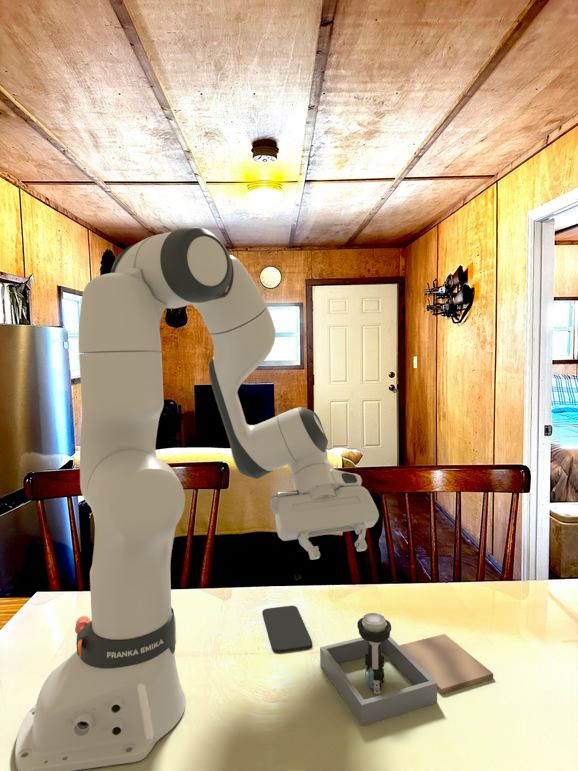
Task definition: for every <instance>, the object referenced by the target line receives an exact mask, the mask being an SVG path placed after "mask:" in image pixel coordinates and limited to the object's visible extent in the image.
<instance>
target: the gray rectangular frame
mask: <svg viewBox="0 0 578 771" xmlns="http://www.w3.org/2000/svg"><path fill="white" fill-rule="evenodd" d="M380 644H381V653H385V655H386V656H387V657H388V658H389V659H390V660H391V661H392V662H393V663H394V664H395V666H397V667H398V668H399V670H400V671H401V672H402V673H403V674H404V675H405V676H406V677H407V678H408V679H409V680H410V682H411V683H413V685H411V686H408V687H404V688H400V689H398V690H394V691H390V692H387V693H384V694H380V695H379V694H378V695H375V696H373V697H370V698H367V699H364V698H363V696H362V695H361V694H360V692H359V691H358V689H357V688H356V687H355V686H354V684H353V683H352V681H351V680H350V679H349V677H348V676H347V675H346V673H345V672H344V671H343V669H342V668H341V667H340V665H339V664H341V663H345V662H349V661H352V660H357V659H361V658H365V655H366V654H368V641H366V640H364V639H362V637H361V636H360V637H356V638H353V639H349V640H344V641H340V642H337V643H333V644H329V645H325V646H320V647H319V657H320V659H319V664H320V666H321V668H322V670H324V671H323V672H325V674H326V675H327V676H328V678H329V679H330V681H331V682H332V684H333V686H334V687H335V688H336V690H337V691H338V693H339V694H340V695H341V697H342V698H343V700H344V701H345V703H346V704H347V706H348V708H349V709H350V710H351V712H352V713H353V715H354V716H355V718H356V719H357V721H358V722H359V724H360V725H361V726H362V727H363V726H366V725H369V724H372V723H373V724H374V723H376V722H379V721H383V720H385V719H389V718H392V717H395V716H398V715H399V716H400V715H402V714H404V713H405V714H406V713H409V712H411V711H414V710H418V709H421V708H425V707H428V706H431V705H435V704H437V703H438V690H437V682H436V681H435V680H434V679H432V678H431V677H430V676H429V675H428V674H427V673H426V672H425V671H424V670H423V669H422V668H421V667H420V666H419V665H418V664H417V663H416V662H415V661H414V660H413V659H412V658H411V657H410V656H409V655H408V654H407V653H406V652H405V651H404V650H403V649H402V648H401V647H400V646H399V645H400V644H399V643H397V641H396V640H394V638H392V637H391V636H390V637H389V638H388V639H387V640H385V641H384V642H381V643H380Z"/></svg>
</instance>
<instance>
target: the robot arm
mask: <svg viewBox="0 0 578 771" xmlns="http://www.w3.org/2000/svg"><path fill="white" fill-rule="evenodd" d="M81 298H82V299H81V304H80V311H79V312H80V313H79V322H78V353H79V354H78V355H79V356H78V357H79V358H78V360H79V374H80V375H79V376H80V390H81V391H80V392H81V393H80V395H81V426H80V444H79V446H80V448H79V486H80V491H81V495H82V497H83V499H84V501H85V502H86V503H87V505H88V506H89V507H90V509H91V513H92V515H93V521H94V541H93V542H94V545H93V554H92V564H91V567H90V569H89V570H90V571H89V583H90V584H89V586H90V588H89V589H90V609H91V610H90V611H91V613H90V614H91V618H89V617H88V616H87V615H82V616H80V617H78V618H77V620H76V621H75V628H74V632H75V634H76V644H75V645H76V651H75V652H74V653H72V654H71V655H70V656H69V657H67V659H65V660H64V661H63V662H62V663H60V664H59V665H58V666H57V667H56V668H54V669H53V670H52V671H51V672H50V674H49V675H48V676H47V677H46V679H45V681H44V683H43V684H42V686H41V688H40V691H39V694H38V697H37V699H36V702H35V704H34V705H33V706H32V707H31V708H30V710H28V712H27V714H26V715H25V716H24V718H23V721H22V723H21V724H20V727H19V729H18V733H17V736H16V740H15V741H16V742H15V748H14V762H15V764H14V765H15V767H16V770H17V771H79V770H87V769H94V768H101V767H109V766H114V765H115V766H116V765H122V764H123V765H124V764H130V763H136V762H141V761H142V760H144V759H145V758H146V757H147V756H148V755H149V754H150V753H151V751H152V749H153V748H154V746H155V745H156V743H157V742H158V741H159V740H160V739H161V738H162V737H164V736H165V735H166V734H167V733H169V732H170V731H171V730H172V729H173V728H175V726H176V725H177V724H178V723H179V720H180V719H181V718H182V717H183V714H184V711H185V709H186V704H187V703H186V696H185V693H184V691H183V690H184V689H183V688H182V685H181V681H180V678H179V673H178V667H177V662H176V656H175V651H176V644H177V625H176V617H175V613H174V608H173V607H172V588H171V586H172V584H171V560H172V559H171V558H172V550H173V545H174V540H175V534H176V533H175V532H176V528H177V525H178V524H179V522H180V520H181V518H182V516H183V513H184V511H185V506H186V496H185V495H186V494H185V491H184V490H185V489H184V487H183V485H182V483H181V481H180V479H179V477H178V476H177V474H176V472H175V471H174V469H173V468H172V467H171V466H170V465H169V464H168V463H167V462H165V461H163V460H162V459H160V458H159V457H157V450H156V444H157V442H156V441H157V435H158V428H159V421H160V417H161V415H162V411H163V410H164V404H165V402H164V382H163V381H164V379H163V378H164V377H163V358H162V357H163V354H162V340H161V333H160V331H161V330H160V329H161V328H160V327H161V321H162V317H163V314H164V312H165V310H166V309H179V308H183V307H187V306H190V305H191V306H193V307H194V308H195V309H196V311H197V312H199V314H200V316H201V317H202V320H203V323H204V326H206V328H207V331H208V333H209V335H210V338H211V339H212V343H213V356H212V358H211V359H210V360H209V361H208V375H209V380H210V384H211V387H212V391H213V394H214V397H215V401H216V404H217V408H218V410H219V414H220V418H221V420H222V422H223V426H224V429H225V432H226V436H227V439H228V442H229V446H230V452H231V456H232V461H233V463H234V466H235V467H236V469H237V470H238V472H239V473H240V474H242V475H243V476H246V477H249V478H252V479H256V480H257V479H260V478H262V477H264V476H266V475H268V474H269V473H271V472H273V471H274V470H277V469H279V468H282V467H284V466H288V469H290V473H291V482H292V484H293V488H294V490H289V491H284V492H283V491H278V492H275V494H274V495H272V496H271V498H270V500H269V504H270V508H271V511H272V512H273V514H274V515H275V516H274V517H275V518H274V519H275V526H276V528H275V529H276V533H277V536H278V538H279V539H280V540H282V541H284V542H286V541H293V540H298V542H299V545H300V546H301V547H303V549H304V550H306V552H307V553H308V556H309V560H311V561H312V560H318V559H320V557H321V552H320V551H319V549H320V548H319V546H318V545H316V546H314V545H313V544H312V542H311V541H310V540H309V538H312V537H319V536H324V535H331V534H336V533H345V532H350V531H354V532H355V534H356V535H358V538H357V540H356V541H355V542H354V546H355V549H356V552H365V551H366V550H367V549H368V544H367V541H366V540H365V538H366V532H367V529H368V528H372V527H374V526H375V525H376V523H377V522H378V520H379V517H380V514H379V509H378V508H377V505H376V502H374V500H373V498H372V496H371V494H370V492H369V490H368V489H367V488H365V487H364V486H362V483H363V479H362V477H361V475H359V474H357V473H351V472H346V471H342V470H338V469H336V468H334V467H333V464H332V463H331V462H330V460H329V458H328V450H327V448H328V443H329V440H328V438H327V435H326V434H325V431H324V427H323V425H322V422H321V420H320V418H319V416H318V414H317V413H316V412H314V411H312V410H311V409H308V408H307V407H302V406H298V407H295V408H292V409H289V410H286V411H285V412H283V413H279V414H277V415H276V416H273V417H271V418H269V419H266V420H265V421H264V420H263V421H262V422H259V423H257V424H248V423H247V421H246V417H245V414H244V410H243V408H242V404H241V401H240V397H239V394H238V391H239V388H240V387H241V385H242V383H244V381H245V380H246V379H247V378H248V377H249V376H250V375H251V374H252V373H253V372H254V371H255V370H257V368H259V367H260V365H261V364H263V362H264V361H265V360H266V359H267V357H268V356H269V354H270V353H271V351H272V349H273V346H274V343H275V340H276V328H275V325H274V322H273V321H274V320H273V319H272V315H271V312H270V310H269V309H268V305H267V304H266V302H265V300H264V298H263V296H262V293H261V292H260V289H259V288H258V286H257V284H256V282H255V281H254V280H253V277H252V276H251V275H250V273H249V271H248V270H247V269H246V268H245V266H244V264H243V263H242V262H241V261H240V260H239V259H238V258H237V257H235V256H233V255H230V253H229V252H228V249H227V248H226V246H225V245H224V243H223V242H222V241H221V240H220V239H219V237H217V235H215V234H214V233H213V232H212V231H210V230H208V229H205V228H202V227H196V226H192V227H191V226H186V227H178V228H177V229H174V230H172V231H169V232H164V233H159V234H155V235H151V236H148V237H146V238H145V239H142V240H141V241H139V242H137V243H135V244H132V245H130V246H128V247H126V248H125V249H124V250H122V252H120V254H118V255H117V257H116V258H115V260H114V262H113V265H112V267H111V270H110V272H109V273H104V274H101V275H98V276H96V277H94V278H93V279H91V280H90V281H88V283H87V284H86V285H85V288H84V289H83V293H82V297H81Z"/></svg>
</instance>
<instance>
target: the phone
mask: <svg viewBox="0 0 578 771" xmlns="http://www.w3.org/2000/svg"><path fill="white" fill-rule="evenodd" d="M261 614H262V618H263V621H264V625H265V629H266V632H267V635H268V636H267V637H268V640H269V642H270V645H271V650H272V652H274V653H276V654H282V653H288V652H289V653H291V652H296V651H303V650H308V649H311V648H312V647H313V640H312V639H311V636H310V633H309V631H308V628H307V627H306V625H305V622H304V620H303V618H302V615H301V613H300V611H299V609H298V607H297V606H296V605H286V606H285V605H283V606H279V607H278V606H276V607H269V608H265V609H263V610H262V613H261Z"/></svg>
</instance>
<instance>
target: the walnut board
mask: <svg viewBox="0 0 578 771" xmlns="http://www.w3.org/2000/svg"><path fill="white" fill-rule="evenodd" d="M398 645H399V646H400V647H401V648H402V649H403V650H404V651H405V652H406V653H407V654H408V655H409V656H410V657H411V658H412V659H413V660H414V661H415V662H416V663H417V664H418V665H419V666H420V667H421V668H422V669H423V670H424V671H425V672H426V673H427V674H428V675H429V676H430V677H431V678H432V679H434V680H435V681H436V682H437V692H438V693H439V694H441V695H442V694H446V693H450V692H452V691H457V690H459V689H462V688H466V687H469V686H472V685H476V684H478V683H479V684H480V683H482V682H486V681H489V680H493V679H494V672H492V671H491V670H490V669H488V668H487V667H486V666H485V665H484V664H482V663H481V661H478V659H476V658H475V657H474V656H473V655H471V654H470V653H469V652H467V651H466V649H465V648H463V647H462V646H460V645H459V644H458V643H457V642H455V641H454V640H453V639H452V638H450V636H448V635H447V634H445V633H443V634H439V635H435V636H431V637H427V638H423V639H419V640H415V641H411V642H407V643H403V644H398Z"/></svg>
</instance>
